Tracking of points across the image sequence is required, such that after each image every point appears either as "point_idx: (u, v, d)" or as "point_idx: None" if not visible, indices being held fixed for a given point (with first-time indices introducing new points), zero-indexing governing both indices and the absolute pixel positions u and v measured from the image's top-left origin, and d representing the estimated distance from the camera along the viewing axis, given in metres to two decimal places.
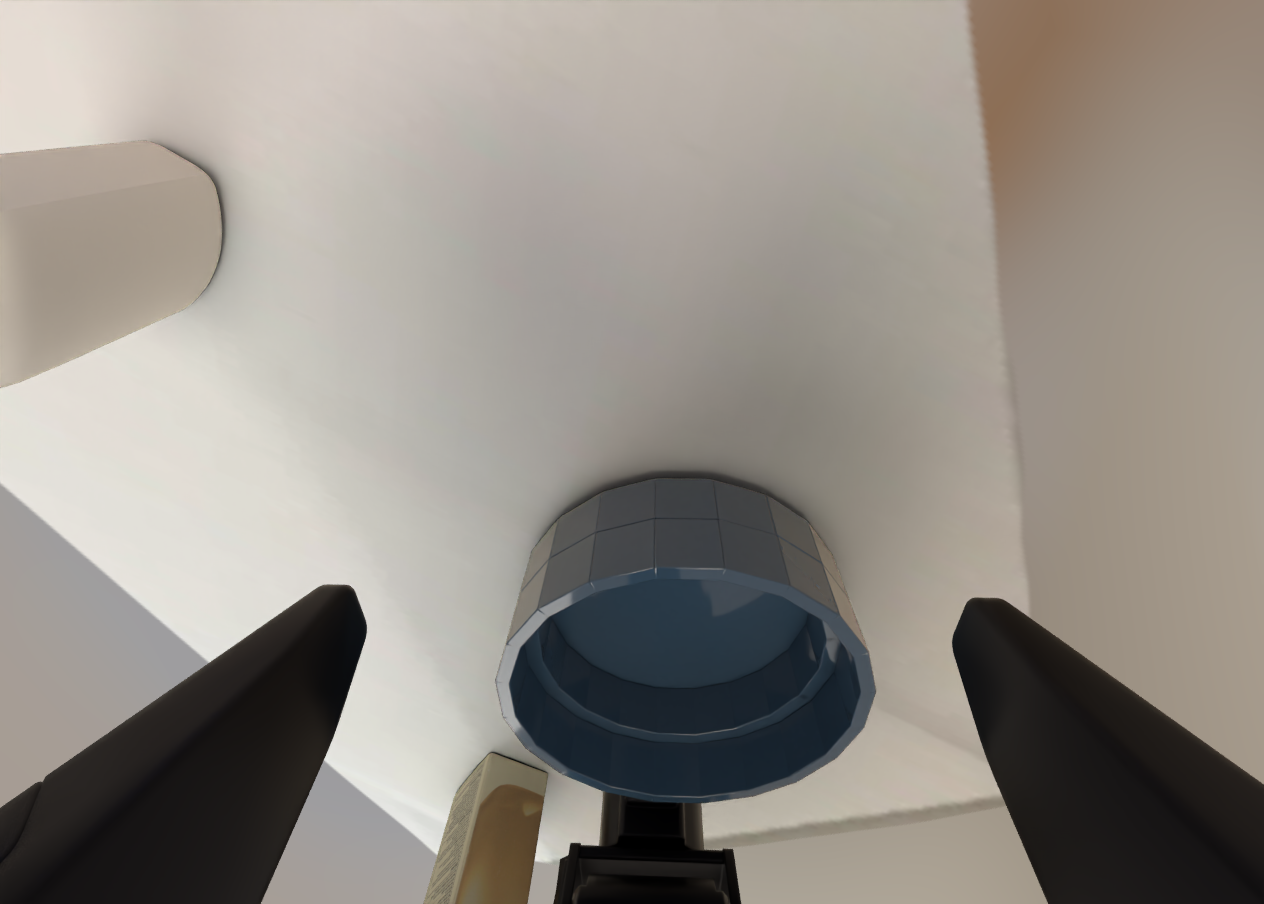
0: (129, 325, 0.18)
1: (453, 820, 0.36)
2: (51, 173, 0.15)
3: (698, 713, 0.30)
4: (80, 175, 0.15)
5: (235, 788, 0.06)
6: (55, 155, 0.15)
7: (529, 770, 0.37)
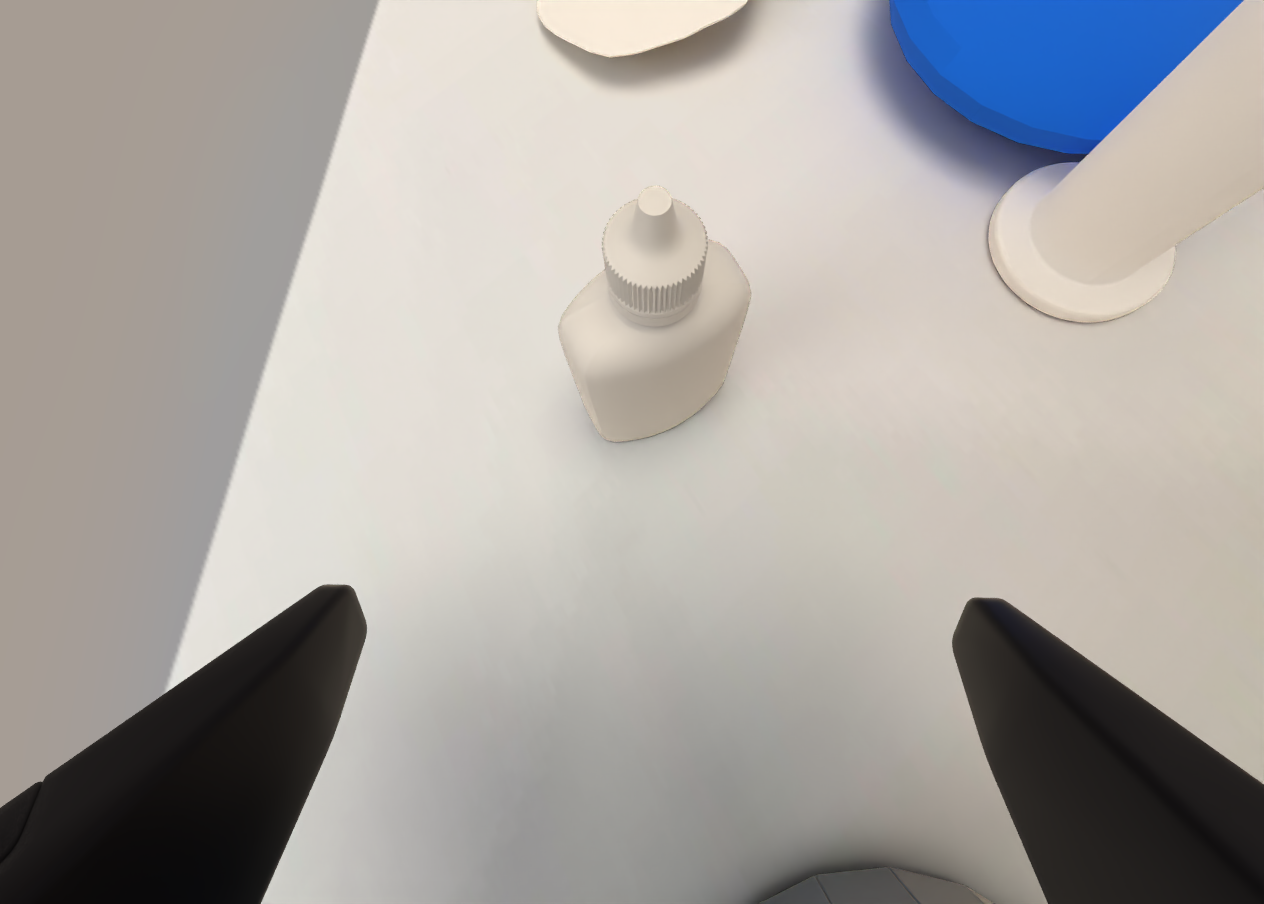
0: (631, 415, 0.19)
1: None
2: None
3: None
4: None
5: (235, 788, 0.06)
6: None
7: None
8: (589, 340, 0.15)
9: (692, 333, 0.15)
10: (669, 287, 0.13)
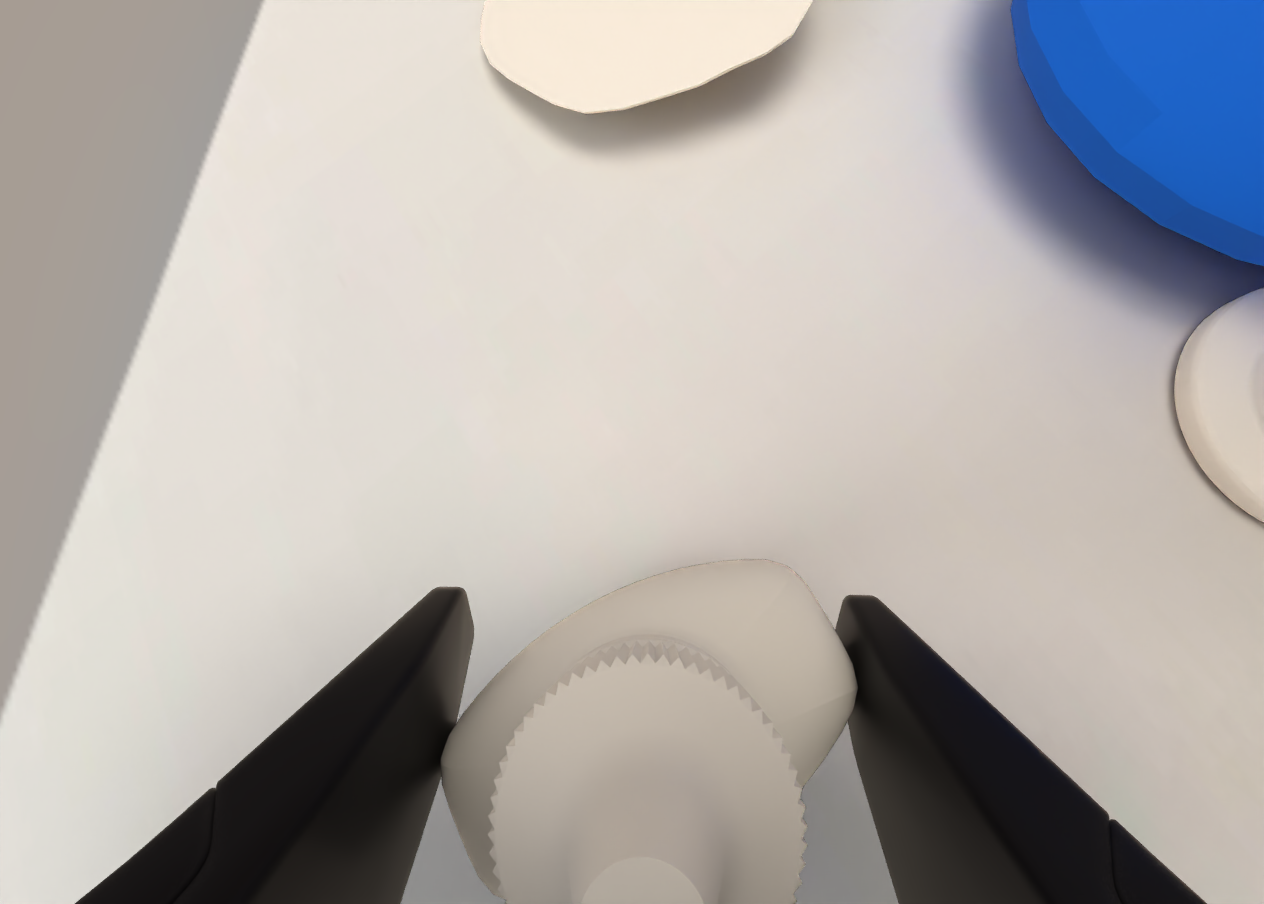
0: None
1: None
2: None
3: None
4: None
5: (384, 793, 0.06)
6: None
7: None
8: None
9: None
10: None
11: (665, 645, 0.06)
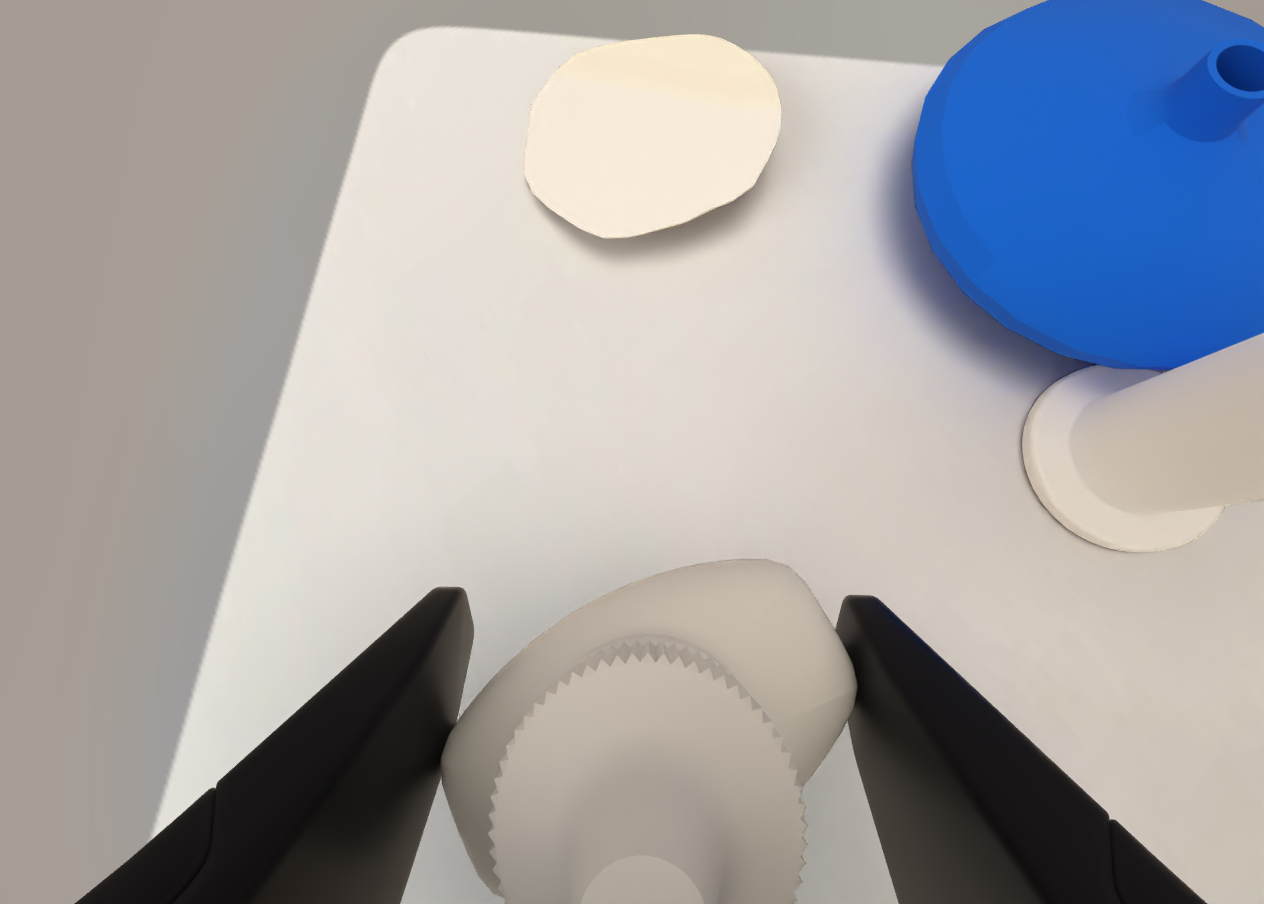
0: None
1: None
2: None
3: None
4: None
5: (384, 793, 0.06)
6: None
7: None
8: None
9: None
10: None
11: (665, 644, 0.06)
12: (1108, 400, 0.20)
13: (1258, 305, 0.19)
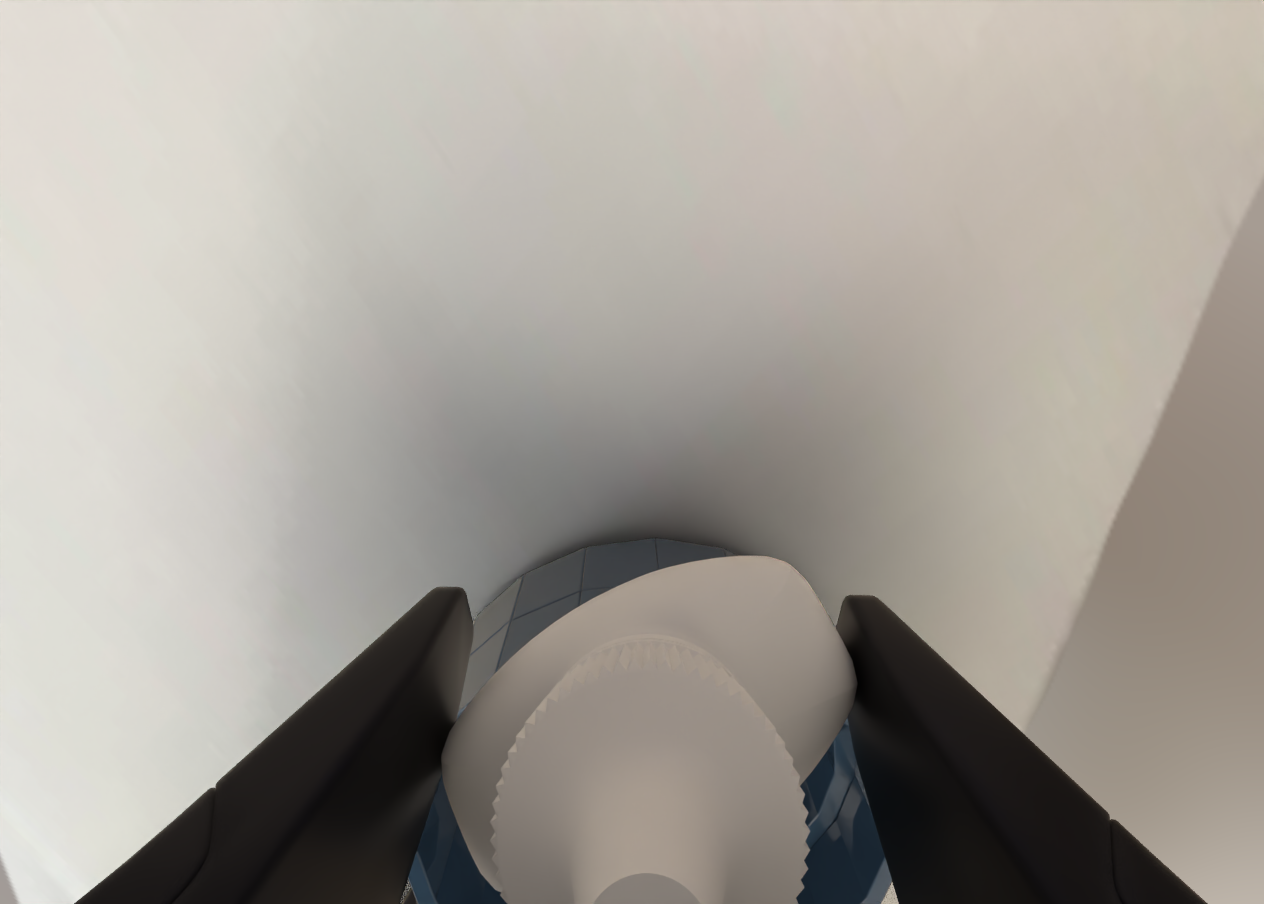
0: None
1: None
2: None
3: None
4: None
5: (384, 793, 0.06)
6: None
7: None
8: None
9: None
10: None
11: (666, 646, 0.06)
12: None
13: None
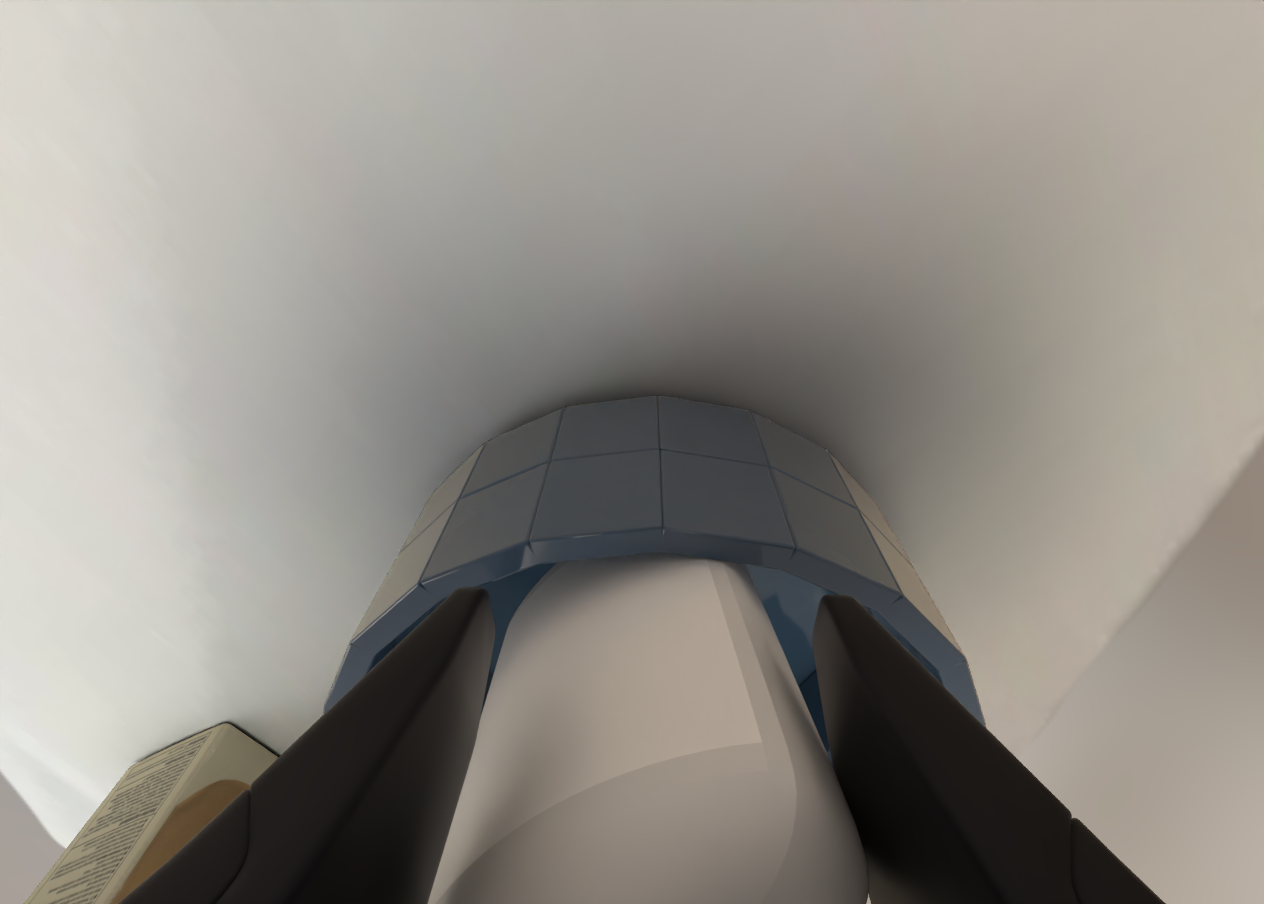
0: None
1: (111, 812, 0.22)
2: (792, 686, 0.08)
3: None
4: (788, 671, 0.09)
5: (413, 794, 0.06)
6: (752, 618, 0.09)
7: None
8: None
9: None
10: None
11: None
12: None
13: None
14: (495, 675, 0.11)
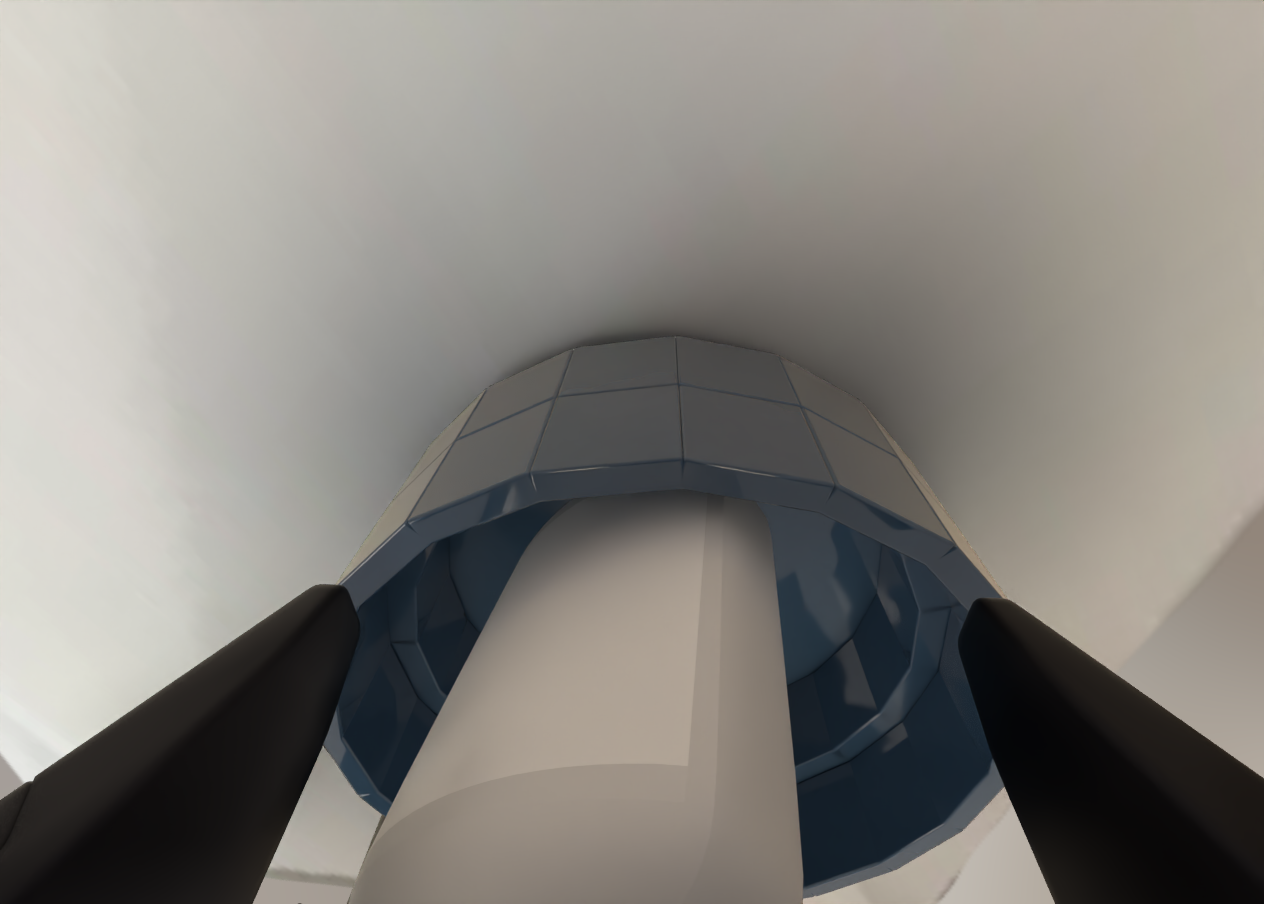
0: None
1: None
2: (767, 684, 0.07)
3: None
4: (773, 662, 0.08)
5: (226, 788, 0.06)
6: (738, 600, 0.08)
7: None
8: None
9: None
10: None
11: None
12: None
13: None
14: None
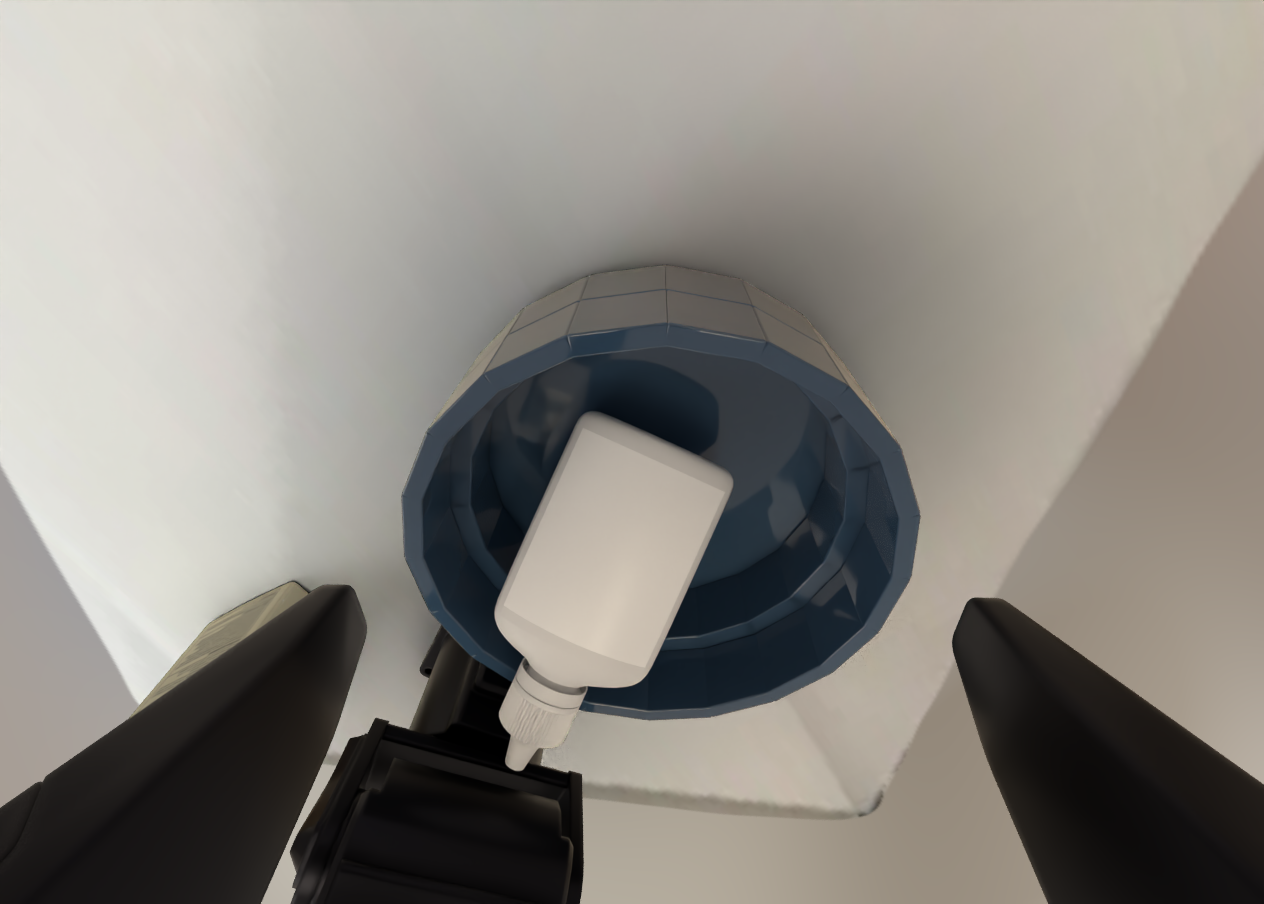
0: None
1: (199, 650, 0.26)
2: None
3: None
4: None
5: (235, 788, 0.06)
6: (686, 588, 0.19)
7: None
8: None
9: None
10: None
11: (561, 716, 0.19)
12: None
13: None
14: (565, 482, 0.18)
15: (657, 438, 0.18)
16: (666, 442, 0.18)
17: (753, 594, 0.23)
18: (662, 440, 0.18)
